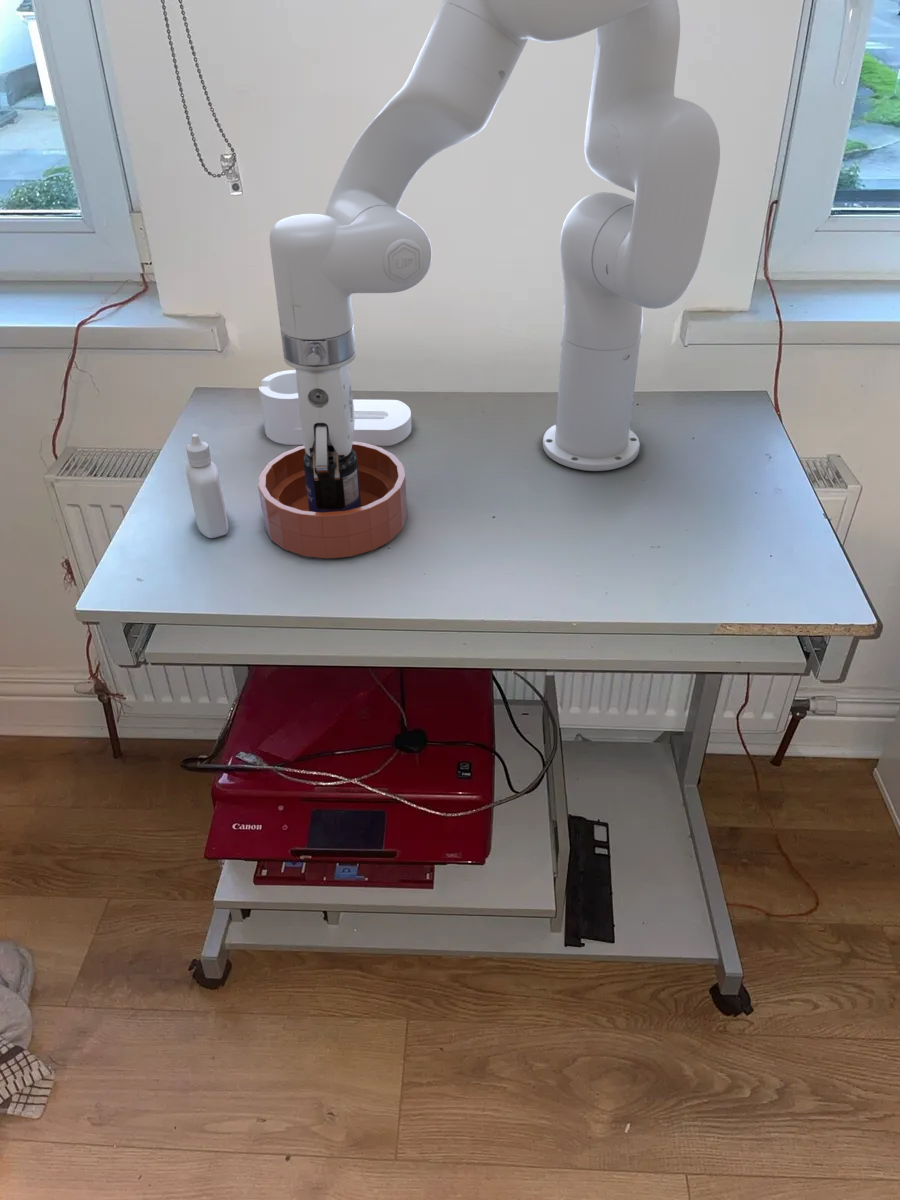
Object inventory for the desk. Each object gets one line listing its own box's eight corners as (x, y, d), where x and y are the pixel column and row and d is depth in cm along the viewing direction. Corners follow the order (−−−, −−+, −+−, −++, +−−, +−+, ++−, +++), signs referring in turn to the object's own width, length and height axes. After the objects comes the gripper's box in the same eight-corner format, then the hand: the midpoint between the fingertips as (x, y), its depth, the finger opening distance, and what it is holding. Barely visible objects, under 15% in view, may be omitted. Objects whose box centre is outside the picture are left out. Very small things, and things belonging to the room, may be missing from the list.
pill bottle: (311, 504, 114) (301, 421, 107) (362, 501, 114) (355, 419, 107) (308, 532, 109) (298, 448, 102) (362, 530, 109) (355, 445, 102)
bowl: (319, 471, 121) (314, 428, 117) (432, 504, 114) (431, 460, 111) (236, 536, 109) (228, 491, 106) (356, 576, 103) (352, 531, 99)
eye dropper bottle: (237, 513, 113) (221, 423, 106) (225, 540, 109) (208, 448, 101) (201, 512, 113) (182, 422, 106) (188, 539, 109) (167, 447, 101)
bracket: (259, 444, 126) (252, 398, 122) (271, 413, 133) (265, 369, 129) (409, 445, 126) (407, 399, 121) (413, 415, 132) (411, 370, 128)
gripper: (349, 378, 91) (361, 532, 103) (359, 310, 105) (369, 453, 116) (272, 380, 91) (292, 534, 102) (291, 312, 105) (308, 454, 116)
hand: (333, 489), depth 109 cm, fingers closed on pill bottle, 6 cm apart
